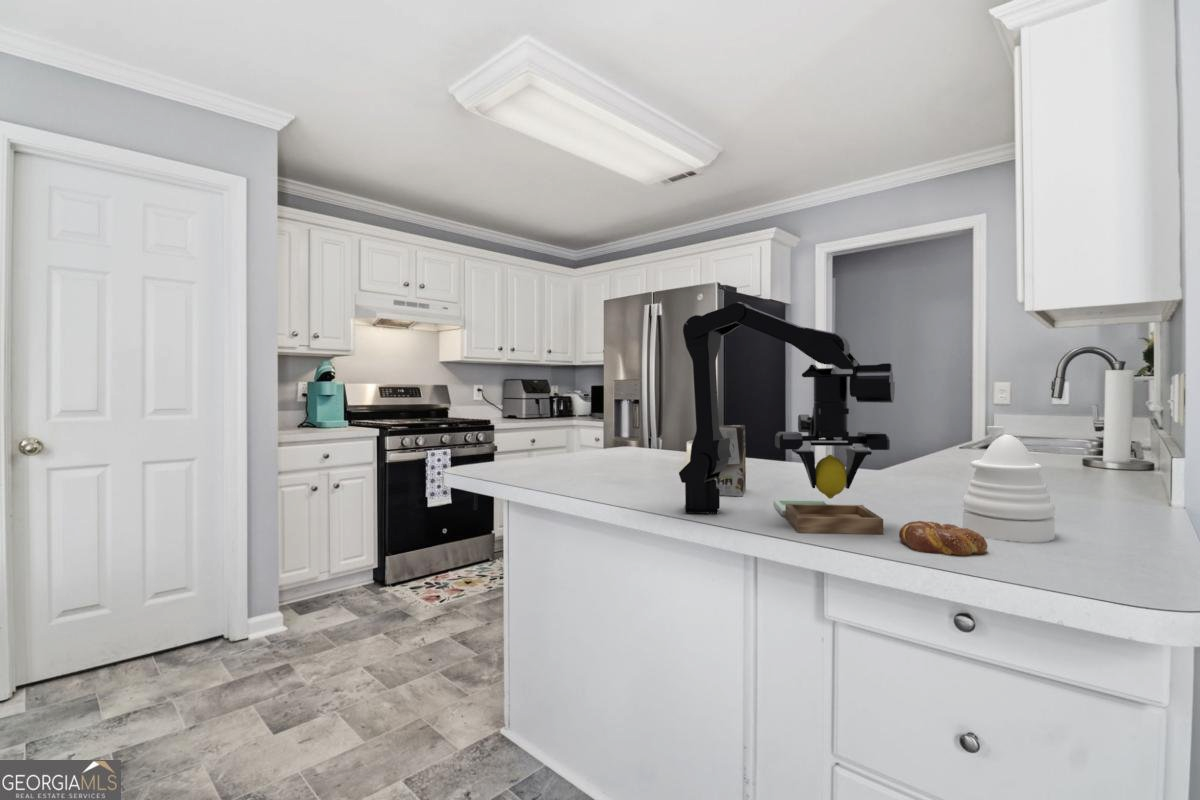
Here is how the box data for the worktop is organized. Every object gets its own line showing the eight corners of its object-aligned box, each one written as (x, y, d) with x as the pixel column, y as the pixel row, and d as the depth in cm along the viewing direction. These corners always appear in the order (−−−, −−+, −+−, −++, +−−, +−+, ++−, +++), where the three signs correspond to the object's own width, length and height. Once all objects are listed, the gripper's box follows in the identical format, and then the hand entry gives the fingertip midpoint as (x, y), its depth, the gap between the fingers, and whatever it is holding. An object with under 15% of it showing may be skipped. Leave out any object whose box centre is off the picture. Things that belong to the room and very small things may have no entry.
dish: (782, 516, 114) (782, 510, 114) (773, 505, 125) (773, 499, 125) (841, 517, 113) (841, 511, 113) (827, 506, 124) (827, 500, 124)
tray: (798, 532, 102) (798, 517, 102) (785, 517, 114) (785, 504, 114) (883, 534, 100) (883, 519, 100) (861, 518, 112) (861, 504, 112)
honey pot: (945, 528, 104) (945, 426, 103) (993, 521, 109) (993, 423, 108) (1023, 546, 92) (1023, 431, 91) (1072, 537, 97) (1072, 428, 96)
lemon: (849, 502, 104) (849, 456, 103) (816, 501, 105) (816, 456, 104) (843, 496, 109) (843, 453, 109) (811, 495, 110) (811, 452, 110)
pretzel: (995, 548, 92) (995, 524, 92) (978, 563, 84) (978, 538, 84) (911, 535, 100) (911, 513, 100) (889, 548, 92) (889, 524, 92)
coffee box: (743, 497, 135) (742, 426, 135) (715, 495, 137) (714, 426, 137) (746, 490, 144) (746, 424, 143) (720, 489, 146) (719, 424, 146)
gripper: (870, 400, 113) (869, 481, 113) (770, 401, 116) (770, 480, 116) (890, 402, 102) (890, 492, 102) (780, 403, 105) (780, 490, 105)
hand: (830, 488), depth 107 cm, fingers closed on lemon, 5 cm apart
